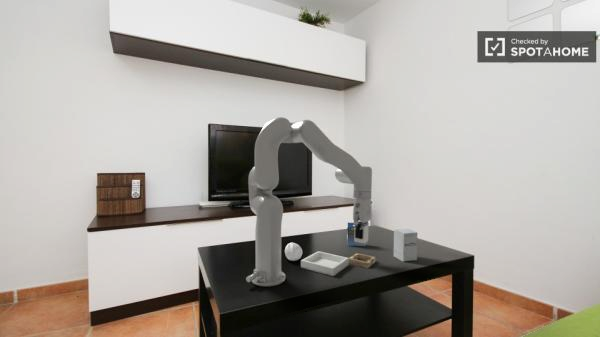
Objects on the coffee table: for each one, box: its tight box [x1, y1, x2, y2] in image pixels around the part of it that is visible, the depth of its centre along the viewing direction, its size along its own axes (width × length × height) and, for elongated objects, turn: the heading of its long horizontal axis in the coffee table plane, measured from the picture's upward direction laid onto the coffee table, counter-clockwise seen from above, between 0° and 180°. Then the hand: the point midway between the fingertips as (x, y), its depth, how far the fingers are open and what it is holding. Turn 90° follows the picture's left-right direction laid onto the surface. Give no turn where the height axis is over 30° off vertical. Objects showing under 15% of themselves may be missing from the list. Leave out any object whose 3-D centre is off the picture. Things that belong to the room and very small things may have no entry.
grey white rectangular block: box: [354, 220, 370, 247], centre depth 117 cm, size 4×4×9 cm
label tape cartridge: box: [346, 222, 366, 247], centre depth 142 cm, size 9×4×12 cm, turn 84°
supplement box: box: [393, 228, 418, 262], centre depth 123 cm, size 7×7×13 cm
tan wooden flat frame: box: [348, 252, 377, 269], centre depth 118 cm, size 9×9×2 cm
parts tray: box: [300, 250, 350, 277], centre depth 114 cm, size 14×15×3 cm
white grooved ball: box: [284, 242, 303, 262], centre depth 121 cm, size 8×8×8 cm
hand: (361, 236), depth 118 cm, fingers closed on grey white rectangular block, 4 cm apart
